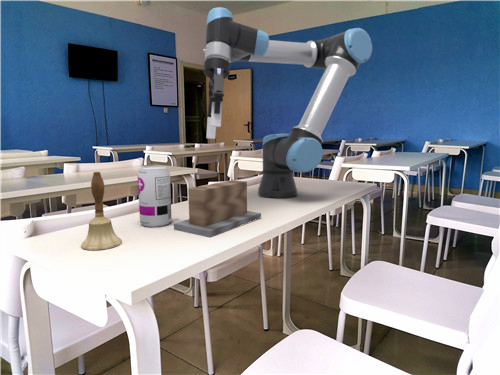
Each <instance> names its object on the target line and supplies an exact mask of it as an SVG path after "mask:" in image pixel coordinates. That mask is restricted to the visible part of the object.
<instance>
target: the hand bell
mask: <svg viewBox="0 0 500 375" xmlns="http://www.w3.org/2000/svg"><path fill="white" fill-rule="evenodd" d="M90 188H91V194H92V196H93V197H92V198H93V199H94V210H95V211H94V213H95V214H94V218H92V219H91V220H90V221H89V222H88V231H87V235H86V237H85V239H84V240H83V241H82V243H81V245H80V248H81V249H83V250H86V251H101V250H108V249H112V248H115V247H118V246H120V245H121V244H122V243H123V241H122V238H120V237H119V236H118V235H117V234H116V232H115V231H114V228H113V225H112V220H111V218H108V217H106V216H105V214H104V213H105V212H104V205H103V204H104V203H103V202H104V201H103V198H104V195H105V182H104V179H103V176H102V175H101V171H94V172H93V175H92V178H91V183H90Z"/></svg>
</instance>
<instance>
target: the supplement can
mask: <svg viewBox="0 0 500 375" xmlns="http://www.w3.org/2000/svg"><path fill="white" fill-rule="evenodd" d="M137 185H138V186H137V189H138V190H137V191H138V207H139V209H138V210H139V223H140V224H141V225H142V226H144V227H149V228H157V227H165V226H167V225H169V224H170V222H172V221H173V220H172V219H173V218H172V197H171V194H172V193H171V173H170V171H169V169H168V167H167V166H144V167H140V168H139V171H138V173H137Z"/></svg>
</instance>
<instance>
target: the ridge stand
mask: <svg viewBox="0 0 500 375" xmlns="http://www.w3.org/2000/svg"><path fill="white" fill-rule="evenodd" d="M247 183H248V182H247V180H246V181H245V180H244V181H243V180H235V179H231V180H226V181H221V182H216V183H210V184H206V185H199V186H195V187H190V188H189V187H188V188H187V189H188V191H187V192H188V215H189V216H188V219H185V220H182V221H177V222H175V223H173V230H176V231H180V232H184V233H185V232H186V233H188V234H193V235H198V236H203V237H208V238H212V237H214V236H218V235H220V234H223V233H225V232H228V231H231V230H233V228H234V229H236V228H238V226H239V227H241V226H240V225H242V224H244V225H246V224H245V223H247V224H249V223H248V222H250V221H252V222H254V221H253V220H255V219H258V218H260V217H261V218H262V213H261V212H258V211H257V212H256V211H250V210H248V184H247ZM261 218H260V219H261ZM258 220H259V219H258ZM255 221H256V220H255ZM250 223H251V222H250ZM242 226H243V225H242ZM235 227H236V228H235Z"/></svg>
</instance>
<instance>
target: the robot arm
mask: <svg viewBox="0 0 500 375" xmlns="http://www.w3.org/2000/svg"><path fill="white" fill-rule="evenodd" d="M233 16H234V15H233V13H232V12H231V11H230V10H229V9H228V8H225V7H220V6H219V7H214V8H212V9H210V10H209V12H208V14H207V19H206V26H205V28H206V31H205V34H206V35H205V48H203V50H202V52H203V53H204V62H203V74H204V76H205V77H207V78H209V82H208V103H207V104H208V105H207V115H206V118H207V119H206V122H207V123H206V137H205V139H211V140H215V139H216V135H217V134H216V131H217V128H221V127H222V114H223V113H222V112H223V101H224V99H223V98H224V97H225V93H224V90H225V89H224V81H225V79H227V78H229V76H230V71H231V70H230V69H231V64H232V63H233V64H234V63H235V62H248V63H249V62H252V63H254V62H255V63H268V64H270V63H271V64H286V65H287V64H288V65H303V66H304V67H306V68H310V69H321V70H322V69H323V70H324V72H323V74H322V75H321V78H320V80H319V82H318V84H317V87H316V88H315V90H314V93H313V94H312V96H311V98H310V100H309V103H308V105H307V107H306V109H305V110H304V114H303V116H302V117H301V119H300V121H299V123H298V125H296V126H293V127H292V128H291V131H289V132H290V133H276V134H275V133H274V134H268V135H266V136H264V137H262V138H263V139H262V146H261V147H262V177H261V179H260V183H259V186H258V187H257V188H258V189H257V195H258V194H259V195H261V196H260V197H263V196H265V197H264V198H269V197H288V198H292V197H291V196H294V197H296V196H295V195H297V196H298V188H297V186H296V182H295V178H294V173H308V172H312V171H313V170H315V169H316V168H317V167H318V166H319V165H320V163H321V161H322V158H323V154H324V153H323V147H322V144H323V142H324V141H323V138H322V133H323V132H324V130H325V128H326V126H327V123H328V121H329V120H330V117H331V115H332V113H333V111H334V108H335V106H336V105H337V103H338V101H339V98H340V97H341V94H342V92H343V90H344V87H345V86H346V84H347V81H348V80H349V78H350V77H352V76H354V75H356V73H357V70H358V69H359V66H360V65H361V64H364V63H366V62H367V61H368V60H369V59H370V58H371V56H372V52H373V44H372V39H371V37H370V34H368V32H367V31H366V30H364V29H363V28H362V27H361V28H360V27H355V28H349V29H347V30H346V31H343V32H340V33H338V34H334V35H332V36H329V37H327V38H323V39H320V40H308V41H307V42H299V41H295V42H294V41H285V40H284V41H283V40H274V39H273V40H271V39H270V37H269V35H268V33H267V32H266V31H264V30H263V31H262V30H260V29H259V28H255V27H252V26H248V25H246V24H242V23H239V22H237V21H235V20H234V17H233ZM230 63H231V64H230ZM259 195H258V196H259Z"/></svg>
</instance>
